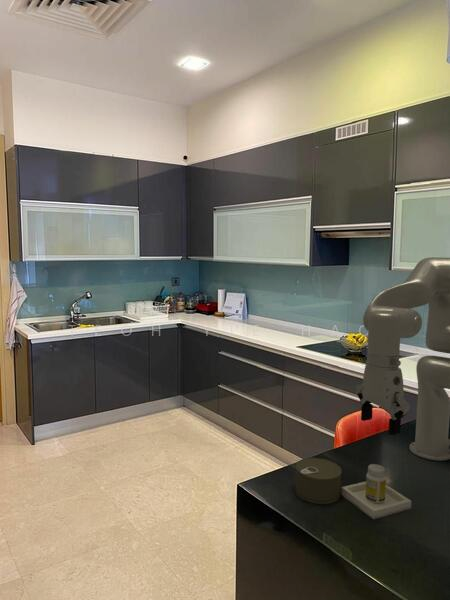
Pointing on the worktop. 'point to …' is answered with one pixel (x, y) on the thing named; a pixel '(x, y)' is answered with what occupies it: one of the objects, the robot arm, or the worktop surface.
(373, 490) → the supplement bottle
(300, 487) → the can
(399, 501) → the tray
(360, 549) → the worktop surface
